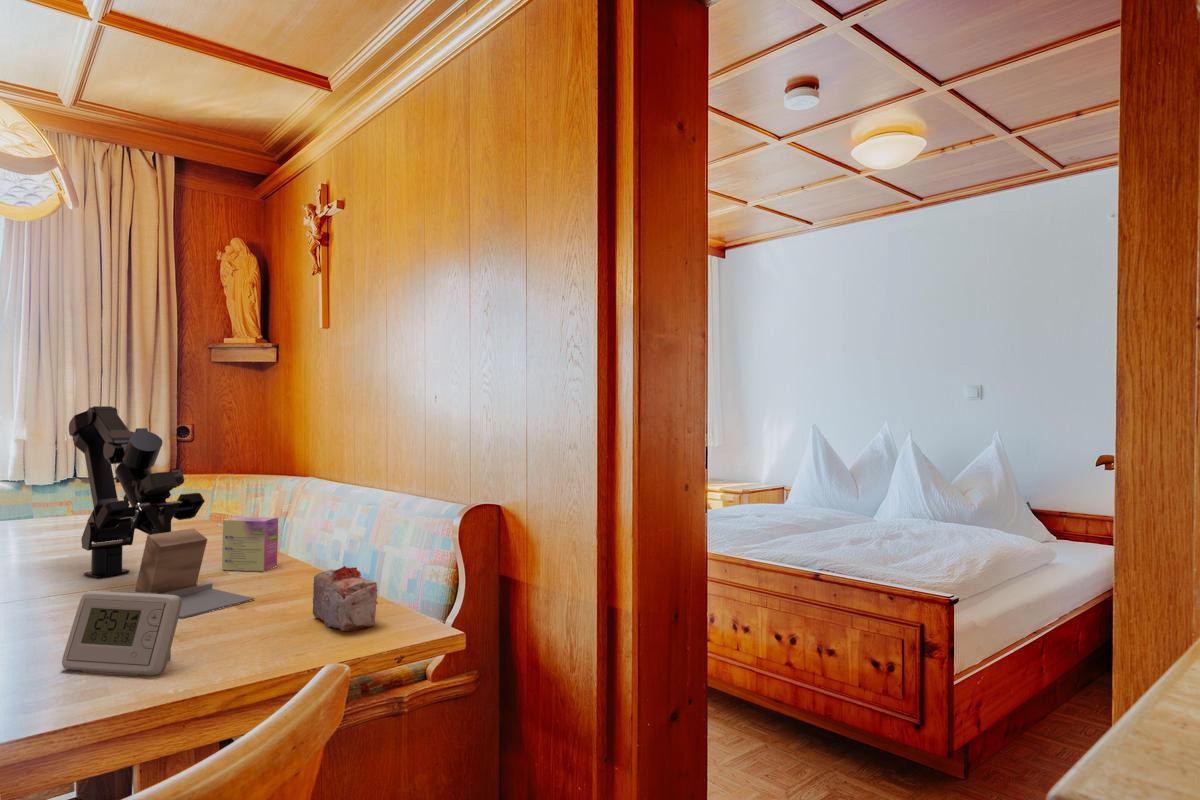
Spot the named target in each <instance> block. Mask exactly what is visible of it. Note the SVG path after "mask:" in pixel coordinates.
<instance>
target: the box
mask: <svg viewBox="0 0 1200 800" xmlns="http://www.w3.org/2000/svg"><path fill="white" fill-rule="evenodd" d="M278 535H279V517H270V516H269V517H265V516H264V517H261V516H260V517H259V516H237V515H236V516H232V517H228V518H225V519H223V521H222V555H221V556H222V559H221V570H222V571H242V572H258V571H262V572H261V573H263V572H264V571H265V572H267V571H266V570H268V569H270V570H272V569H271V568H273V567H275V566H277V567H278V549H279V548H278V544H279V540H278V539H279V538H278V537H279V536H278ZM275 568H276V567H275ZM273 569H274V568H273ZM268 571H269V570H268Z"/></svg>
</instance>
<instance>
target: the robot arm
mask: <svg viewBox="0 0 1200 800" xmlns="http://www.w3.org/2000/svg"><path fill="white" fill-rule="evenodd" d="M68 432H69V436H70V437H72V440H73V445H74V447H76V448H77V449H78V450H79V451H80V452H82V453H83V454H84V459H85V464H86V470H87V477H88V481H89V487H90V494H91V498H92V504H93V510H92V512H91V514H90V515H89V517H88V519H87V520H86V521H87V522H86V525H85V527H84V530H83V532H82V536H81V541H80V542H81V548H82V549H83V550H86V551H91V557H90V558H91V559H90V560H91V561H90V562H91V563H90V564H91V566H90V567H91V569H90V571H85V572H83V575H84V576H88V577H92V578H96V579H102V578H106V577H111V576H117V575H118V576H119V575H122V574H127V573H130V569H126V568H123V548H124V546H132V545H133V542H134V535H135V530H138V531H140V532H143V533H145V534H146V535H152V534H159V533H166V532H172V520H173V518H174V519H176V520H178V521H182V520H183V521H184V520H191V519H193V518H195V517H196V515H197V514H198V512H200V509H201V508H202V506H203V504H204V503H205V499H204V497H203V495H202V494H201V493H200V492H189V493H182V494H181V493H180V495H179V496H178V498H177V499H176V500H173V501H172V500H171V501H167V500H168V499H170V497H171V495H172V494H171V491H172V490H173V489H176V488H177V487H180V486H181V485H182V484H184V483H185V476H184V474H183V473H182V471H181V469H171V470H170V471H162V472H161V471H159V472H152V471H151V470H150V468H153V467H154V466H155V465H156V461H157V459H158V456H159V454H160V451H161V448H162V446H163V439H162V438H161V437H160V436H159V435H157V434H156V433H154V432H150V431H149V430H148V428H146V427H144V428H142V427H140V428H138V427H137V428H135V431H131V430H129V428H128V426H127V425H126V424H125V422H124V421H123V420H122V419H121V417H120V416H119V414H118V409H117V407H113V405H112V406H108V405H107V406H104V405H103V406H101V405H100V406H96V405H94V406H92V407H88V409H87V410H85V411H83V412H80V413H77V414H75V415H73V417H72V418H71V420H70V421H69V423H68ZM116 464H117V466H116V469H115V471H114V472H115V478H114V472H113V467H112V465H116ZM116 483H117V484H118V483H120V485H121V487H122V489H123V492H124V493H125V494H124V495H123V498H122V499H123V500H121V499H120V500H119V498H118V494H117V489H116V488H117V487H116Z"/></svg>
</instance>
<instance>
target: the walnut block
mask: <svg viewBox="0 0 1200 800" xmlns="http://www.w3.org/2000/svg"><path fill="white" fill-rule="evenodd" d="M146 535H147V536H146V541H145V546H144V549H143V554H142V558H141V563H140V567H139V572H138V575H137V579H136V580H137V581H136V585H135V590H134V592H144V593H159V594H160V593H165V592H169V591H174V590H178V589H183V588H187V587H192V586H197V585H198V584H197V583H198V581H199V575H200V571H201V567H202V564H203V560H204V559H203V558H204V555H205V551H206V546H207V543H208V538H207V537H206V536H204V534H201V532H199V531H198V530H197V529H196V528H193V527H192V528H188V529H181V530H172V531H171V532H166V533H159V534H152V535H149V534H146Z"/></svg>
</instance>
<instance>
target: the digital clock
mask: <svg viewBox="0 0 1200 800" xmlns="http://www.w3.org/2000/svg"><path fill="white" fill-rule="evenodd" d="M181 606H182V599H181V598H180V597H179V596H176V595H165V594H159V593H144V592H136V591H124V590H123V591H121V590H110V591H104V590H103V591H101V590H99V591H98V590H89V591H85V593H84V594H83V595H82V596H81V598H80V600H79V604H78V606H77V610H76V613H75V615H74V619H73V622H72V626H71V628H70V631H69V635H68V638H67V639H68V640H67V642H66V644H65V648H64V651H63V655H62V659H61V665H62V668H64V669H66V670H69V671H71V670H72V671H82V673H90V674H91V673H92V674H101V675H102V674H103V675H104V674H105V675H106V674H107V675H119V676H131V677H132V676H134V677H138V676H141V675H147V676H156V675H157V676H158V675H161V674H163V672H164V671H165V670H166V667H167V664H168V662H170V660H171V657H172V655H171V653H172V650H171V649H172V644H173V640H174V637H175V633H176V630H177V626H178V622H179V619H180V618H179V614H180V610H181Z"/></svg>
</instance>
